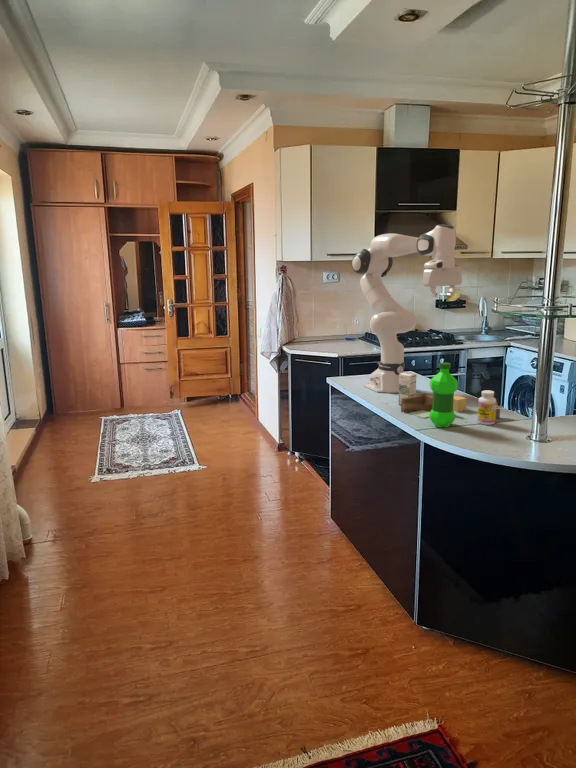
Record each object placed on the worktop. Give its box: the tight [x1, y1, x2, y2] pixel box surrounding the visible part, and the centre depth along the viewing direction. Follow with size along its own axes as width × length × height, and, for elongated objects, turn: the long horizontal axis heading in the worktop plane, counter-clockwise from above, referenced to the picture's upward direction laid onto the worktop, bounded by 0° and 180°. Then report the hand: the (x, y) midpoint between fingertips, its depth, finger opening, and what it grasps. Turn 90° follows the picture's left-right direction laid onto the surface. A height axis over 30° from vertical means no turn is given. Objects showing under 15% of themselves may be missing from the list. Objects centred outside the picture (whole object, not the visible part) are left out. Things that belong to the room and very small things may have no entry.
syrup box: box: [398, 371, 417, 406], centre depth 250 cm, size 6×6×14 cm
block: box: [453, 395, 468, 413], centre depth 242 cm, size 6×6×6 cm
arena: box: [400, 393, 433, 414], centre depth 237 cm, size 16×14×6 cm
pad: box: [409, 409, 431, 419], centre depth 236 cm, size 8×8×1 cm
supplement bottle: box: [477, 389, 497, 426], centre depth 222 cm, size 7×7×13 cm
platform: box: [495, 402, 504, 419], centre depth 230 cm, size 12×18×7 cm, turn 108°
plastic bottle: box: [428, 361, 459, 428], centre depth 218 cm, size 10×10×25 cm
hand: (442, 296), depth 242 cm, fingers open, 8 cm apart
